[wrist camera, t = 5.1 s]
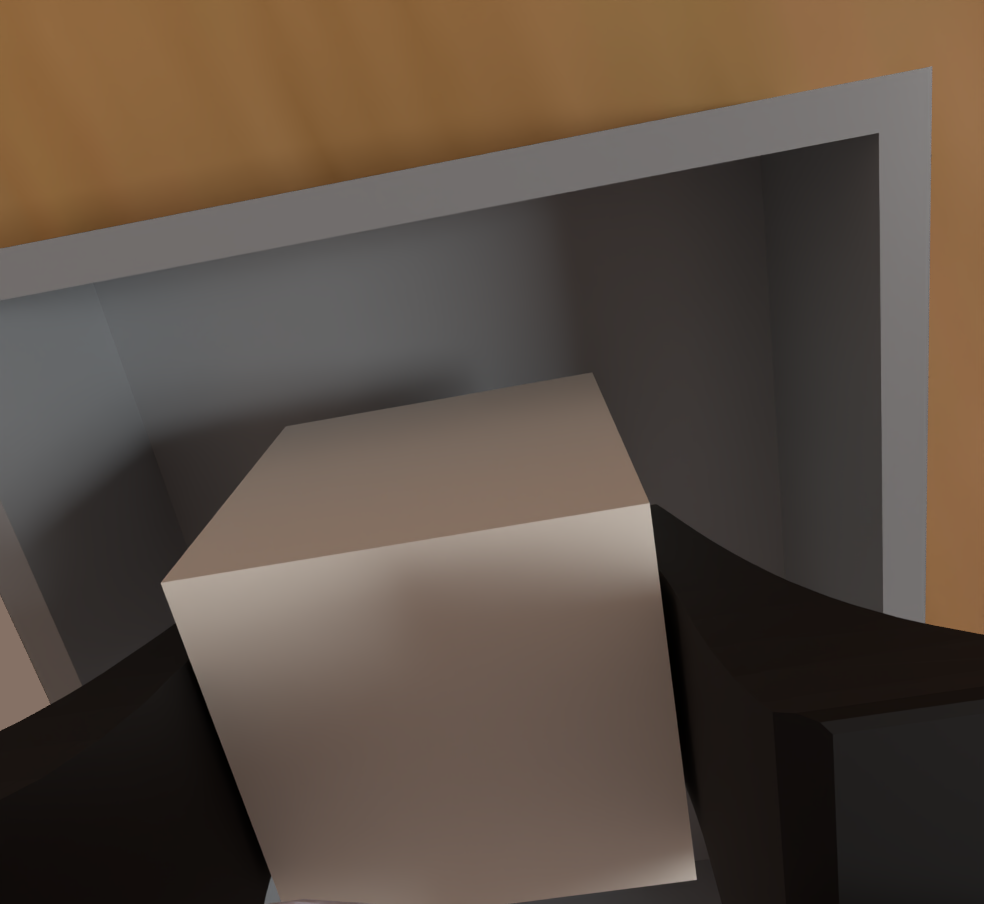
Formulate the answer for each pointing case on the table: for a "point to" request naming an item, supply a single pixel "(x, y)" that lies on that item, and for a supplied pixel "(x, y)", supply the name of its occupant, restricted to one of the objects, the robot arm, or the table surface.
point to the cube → (444, 654)
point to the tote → (495, 353)
